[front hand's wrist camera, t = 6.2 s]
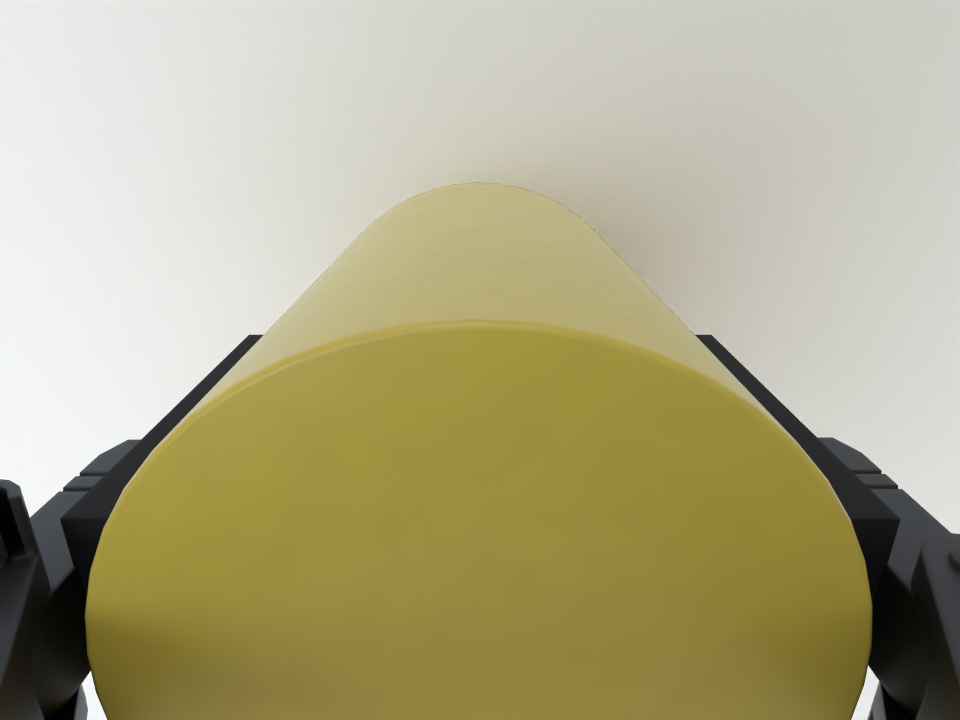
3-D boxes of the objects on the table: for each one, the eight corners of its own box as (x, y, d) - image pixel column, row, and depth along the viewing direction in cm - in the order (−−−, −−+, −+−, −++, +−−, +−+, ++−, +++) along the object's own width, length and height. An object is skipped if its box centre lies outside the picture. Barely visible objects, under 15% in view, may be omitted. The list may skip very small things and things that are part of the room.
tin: (475, 106, 15) (466, 96, 5) (698, 339, 17) (1029, 683, 7) (260, 345, 17) (-67, 696, 7) (482, 525, 19) (485, 996, 9)
